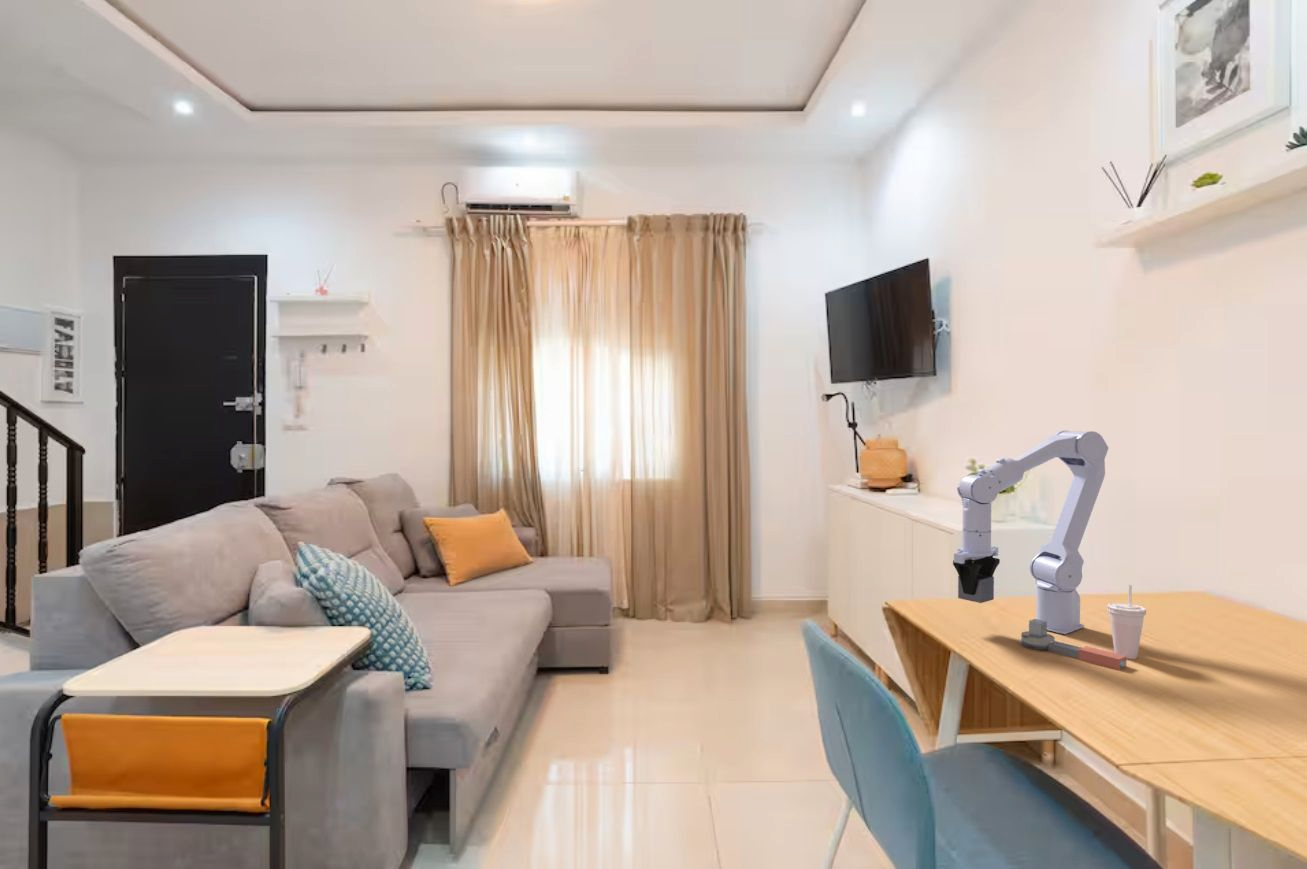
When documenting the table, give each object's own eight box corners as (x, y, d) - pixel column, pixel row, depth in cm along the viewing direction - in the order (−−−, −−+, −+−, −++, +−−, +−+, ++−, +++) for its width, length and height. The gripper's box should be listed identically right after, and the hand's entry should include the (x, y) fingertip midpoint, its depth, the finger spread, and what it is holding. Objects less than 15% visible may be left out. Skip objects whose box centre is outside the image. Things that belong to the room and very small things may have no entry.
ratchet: (1129, 664, 134) (1129, 637, 134) (1115, 671, 131) (1116, 643, 130) (1030, 639, 149) (1030, 615, 149) (1015, 645, 146) (1015, 620, 145)
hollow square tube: (971, 594, 159) (971, 572, 159) (993, 599, 155) (993, 576, 155) (958, 598, 156) (958, 575, 156) (980, 603, 152) (980, 579, 152)
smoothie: (1151, 662, 135) (1153, 589, 135) (1114, 660, 137) (1115, 588, 136) (1136, 651, 142) (1137, 581, 141) (1100, 649, 143) (1101, 580, 142)
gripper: (977, 525, 163) (976, 583, 163) (941, 531, 154) (940, 593, 154) (1007, 529, 157) (1007, 589, 157) (971, 535, 148) (971, 599, 149)
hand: (976, 592), depth 155 cm, fingers closed on hollow square tube, 5 cm apart
